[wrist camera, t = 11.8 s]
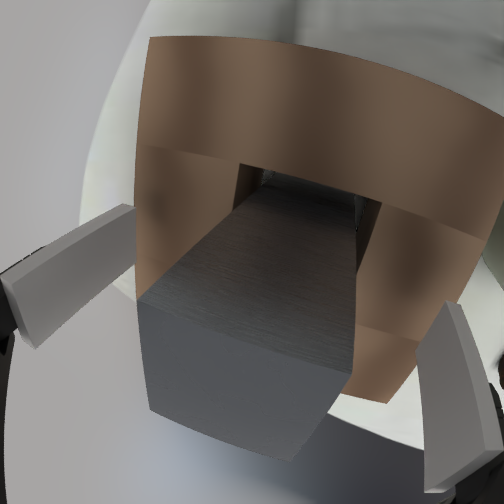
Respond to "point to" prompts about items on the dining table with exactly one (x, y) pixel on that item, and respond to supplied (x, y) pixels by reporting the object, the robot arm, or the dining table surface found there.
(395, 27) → the dining table surface
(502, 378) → the hand tool
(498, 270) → the round stub
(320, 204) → the square bar
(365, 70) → the socket block
